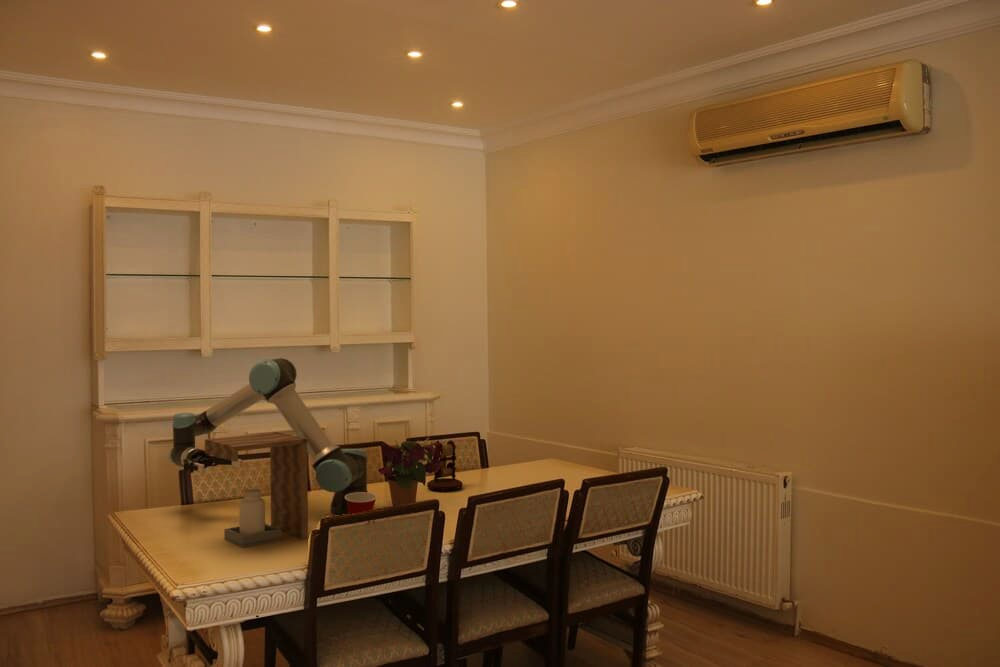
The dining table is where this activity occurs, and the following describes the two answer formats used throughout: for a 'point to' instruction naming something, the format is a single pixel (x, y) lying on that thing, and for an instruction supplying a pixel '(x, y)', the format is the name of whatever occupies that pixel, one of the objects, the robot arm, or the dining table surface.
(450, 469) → the dark mug tree
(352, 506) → the plastic cup
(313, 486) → the dining table surface
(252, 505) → the pill bottle
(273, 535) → the tray
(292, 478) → the wooden l-shaped stand
